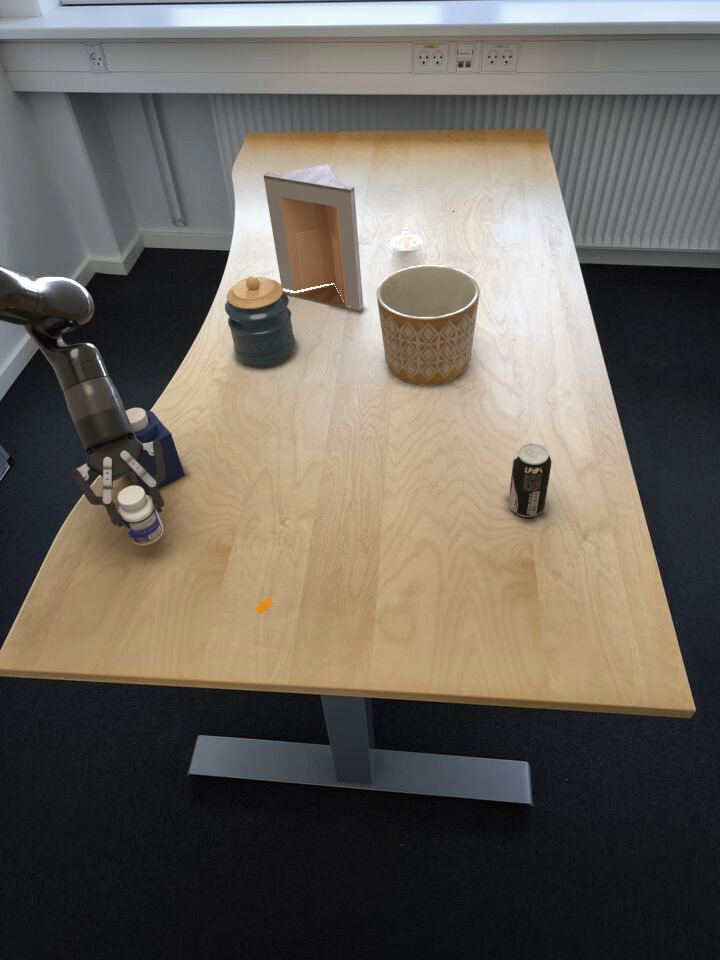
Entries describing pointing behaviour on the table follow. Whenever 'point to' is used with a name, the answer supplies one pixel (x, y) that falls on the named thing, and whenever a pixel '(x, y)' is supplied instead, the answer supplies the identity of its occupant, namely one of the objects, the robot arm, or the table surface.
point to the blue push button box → (169, 451)
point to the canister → (260, 322)
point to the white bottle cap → (137, 418)
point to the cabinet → (316, 236)
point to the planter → (428, 322)
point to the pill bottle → (139, 515)
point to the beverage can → (529, 480)
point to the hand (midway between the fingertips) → (140, 518)
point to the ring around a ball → (406, 242)
